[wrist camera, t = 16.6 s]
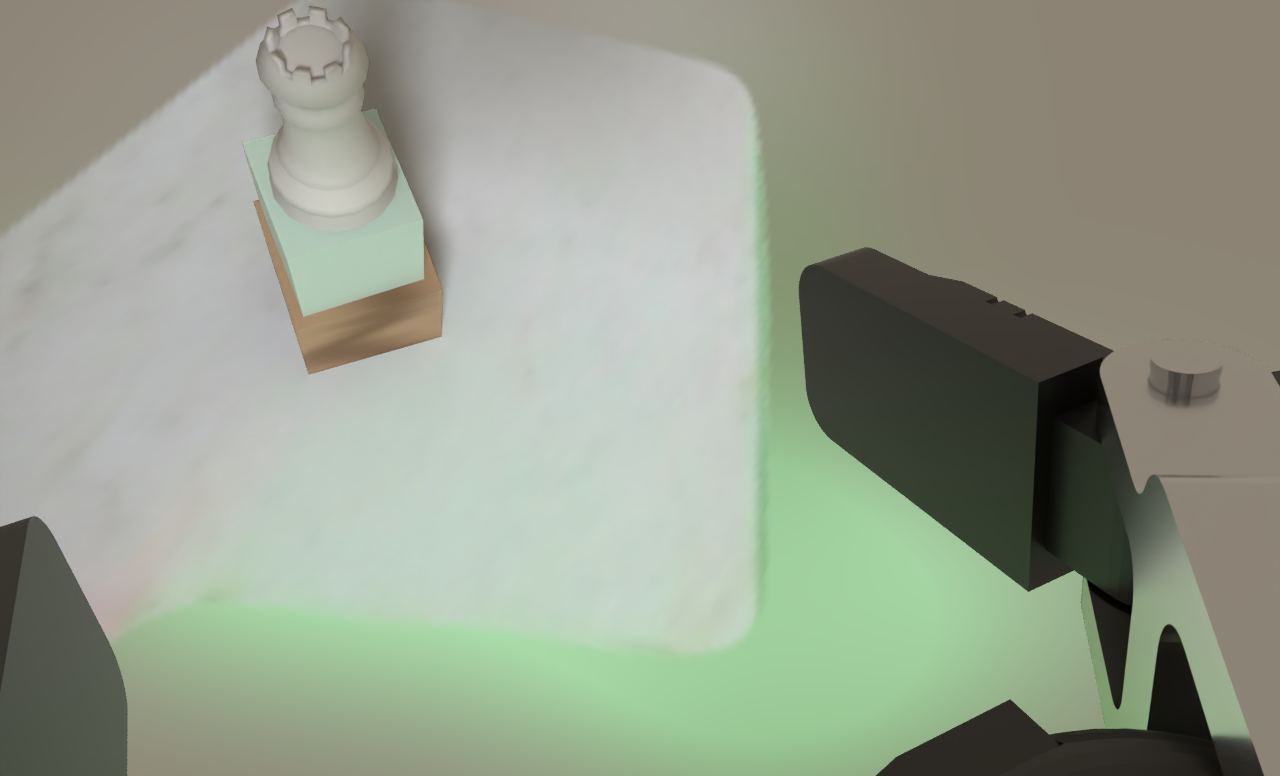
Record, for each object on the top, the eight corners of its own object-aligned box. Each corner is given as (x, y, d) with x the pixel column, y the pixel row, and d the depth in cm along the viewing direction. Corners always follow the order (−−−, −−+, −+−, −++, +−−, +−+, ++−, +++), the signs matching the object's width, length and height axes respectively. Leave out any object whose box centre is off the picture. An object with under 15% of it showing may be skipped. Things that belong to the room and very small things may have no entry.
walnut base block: (308, 374, 45) (295, 330, 41) (271, 256, 47) (253, 201, 42) (441, 336, 47) (442, 290, 42) (400, 224, 48) (397, 167, 44)
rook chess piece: (300, 115, 38) (266, -41, 31) (416, 155, 39) (409, 9, 31) (250, 214, 37) (201, 74, 29) (371, 255, 37) (354, 127, 29)
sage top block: (303, 317, 41) (287, 260, 36) (262, 211, 42) (241, 142, 37) (424, 278, 42) (423, 219, 38) (381, 177, 44) (375, 108, 39)
